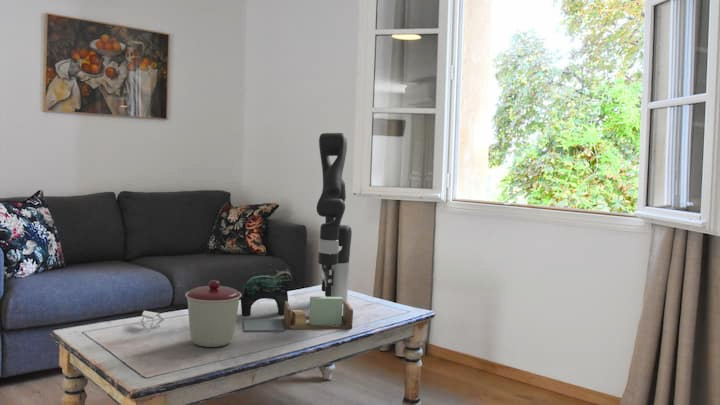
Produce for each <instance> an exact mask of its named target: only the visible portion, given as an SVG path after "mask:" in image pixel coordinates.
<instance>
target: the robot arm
mask: <svg viewBox="0 0 720 405" xmlns="http://www.w3.org/2000/svg"><path fill="white" fill-rule="evenodd" d="M318 139H319V140H318V145H319V147H318V148H319V155H320V156H319V157H320V163H321V169H322V191H321V194H320V197H319V198H318V201H317V204H316V213H317V214H318V215H319V216H320V217H322V218H323V217H324V218H325V222H324V223H322V224H321V225H320V231H319V243H318V254H317V262H318V264H320V265H321V269H320V270H321V272H320V273H321V275H320V279H321V291H322V292H324V297H342V298H343V301H347V302H348V291H349V273H350V272H349V270H350V256H351V255H350V254H351V244H352V235H353V232H352V227H351V226H350V225H345V224H341V222H342V218H343V216H344V214H345V210H346V203H345V201H346V199H347V197H346V195H347V194H346V193H347V191H346V183H345V181H344V179H343V178H342V177H343V173H344V167H345V162H346V156H347V151H348V139H347V136H346V134H345V133H343V132H324V133H321V134H320V135H319V138H318ZM334 156H335V157H336V159H335V160H334V161H333V163H332V162H331V159H330V157H334ZM340 247H341V248H340ZM339 249H340V250H339Z"/></svg>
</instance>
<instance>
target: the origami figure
mask: <svg viewBox="0 0 720 405" xmlns="http://www.w3.org/2000/svg"><path fill="white" fill-rule="evenodd" d="M141 315H142V318H141V320H140V323H141V325H142V326H143V327H142V329H143V330H145V325H144V324H147V322H146V319H151V322H150V325H149V328H151V330H150V332H153V324H154V321H155V318H156V317H157V318H159V319H160V320H159V321H157V323H155V325H156V326H158V327H161V323H163V321H165V320H166V319H165V318H164V317H163V316H161V313H160V312H154V311H148V310H143V312H142V314H141Z"/></svg>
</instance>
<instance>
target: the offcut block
mask: <svg viewBox="0 0 720 405" xmlns="http://www.w3.org/2000/svg"><path fill="white" fill-rule="evenodd" d="M305 316H306V313H305V312H304V311H303V310H302V309H295V310H294V309H293V310H292V309H291V323H290V324H292V326H297V325H308V323H307V319H306V318H305Z"/></svg>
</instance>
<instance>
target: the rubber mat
mask: <svg viewBox="0 0 720 405" xmlns="http://www.w3.org/2000/svg"><path fill="white" fill-rule="evenodd" d="M242 322H243V323H242V324H243V330H244V332H245V333H251V332H255V333H257V332H258V333H260V332H261V333H265V332H266V333H267V332H269V333H271V332H273V333H274V332H275V333H276V332H278V333H279V332H281V333H282V332H285V328H284V325H283V322H282V319H281V318H270V319H269V318H260V319H259V318H256V319H255V318H253V319H252V318H247V319H243V320H242Z"/></svg>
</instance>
